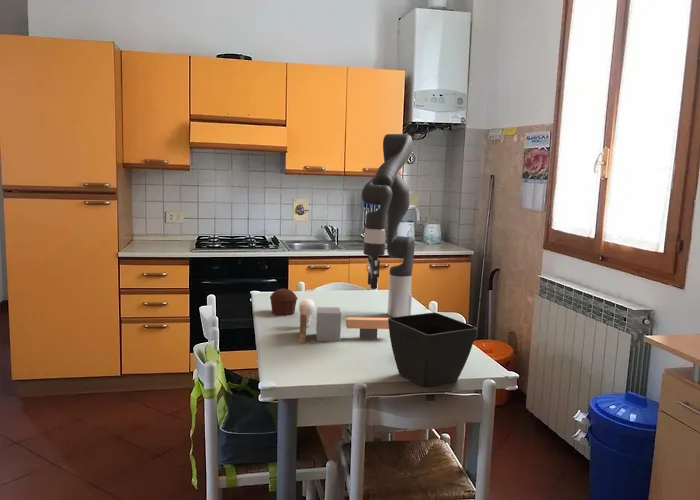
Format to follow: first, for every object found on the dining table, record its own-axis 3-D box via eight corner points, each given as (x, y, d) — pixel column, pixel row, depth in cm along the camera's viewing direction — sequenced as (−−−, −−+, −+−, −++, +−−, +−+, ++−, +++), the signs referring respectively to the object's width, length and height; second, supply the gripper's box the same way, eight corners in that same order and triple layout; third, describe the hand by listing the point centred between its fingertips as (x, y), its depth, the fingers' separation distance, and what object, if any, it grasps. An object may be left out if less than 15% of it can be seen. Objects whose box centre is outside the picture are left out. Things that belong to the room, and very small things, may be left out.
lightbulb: (311, 330, 219) (312, 301, 218) (296, 328, 220) (296, 299, 219) (316, 326, 225) (317, 297, 223) (300, 324, 226) (301, 296, 225)
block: (338, 334, 215) (339, 307, 214) (340, 341, 206) (341, 313, 205) (316, 333, 215) (317, 306, 213) (317, 341, 206) (318, 313, 204)
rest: (375, 337, 214) (376, 326, 213) (377, 339, 211) (377, 328, 210) (359, 336, 213) (359, 326, 212) (360, 339, 210) (360, 328, 210)
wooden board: (305, 331, 217) (305, 305, 215) (305, 342, 203) (306, 314, 201) (299, 331, 216) (300, 305, 215) (299, 342, 203) (300, 314, 201)
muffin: (264, 311, 244) (264, 288, 242) (287, 308, 250) (287, 285, 249) (279, 318, 234) (279, 293, 233) (302, 315, 241) (303, 291, 240)
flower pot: (474, 383, 171) (479, 326, 169) (424, 394, 161) (428, 334, 158) (431, 363, 187) (435, 311, 184) (383, 372, 176) (386, 318, 174)
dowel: (390, 326, 214) (390, 318, 213) (391, 329, 211) (391, 320, 210) (346, 325, 212) (346, 317, 212) (346, 328, 209) (347, 319, 209)
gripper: (388, 244, 202) (385, 290, 204) (382, 239, 216) (379, 283, 218) (366, 243, 201) (363, 290, 203) (361, 239, 215) (359, 282, 217)
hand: (372, 286), depth 210 cm, fingers open, 8 cm apart
